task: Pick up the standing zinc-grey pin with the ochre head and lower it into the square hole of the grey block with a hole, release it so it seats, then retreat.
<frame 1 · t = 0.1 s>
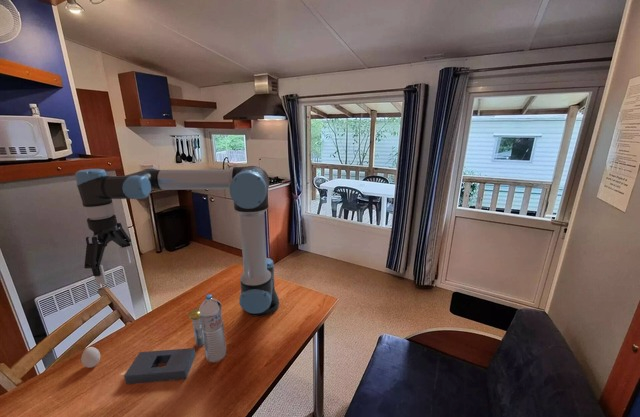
hand: (115, 272, 92), 28 cm above the table, fingers open, 13 cm apart
water bottle: (216, 355, 92), on the table
egg: (93, 366, 88), on the table
grey block with hole: (163, 369, 87), on the table
pin: (200, 343, 97), on the table
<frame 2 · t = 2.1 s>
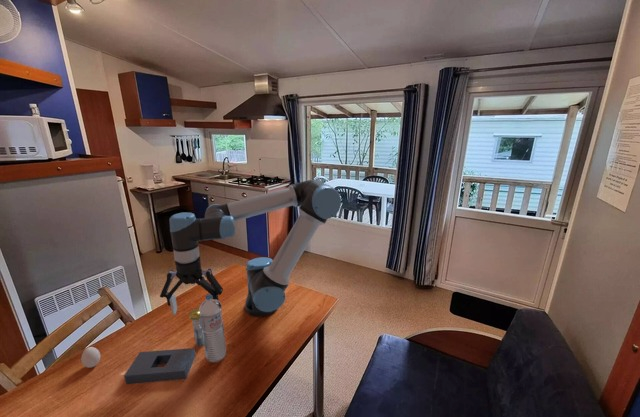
hand: (194, 311, 93), 15 cm above the table, fingers open, 13 cm apart
nothing on the table moved.
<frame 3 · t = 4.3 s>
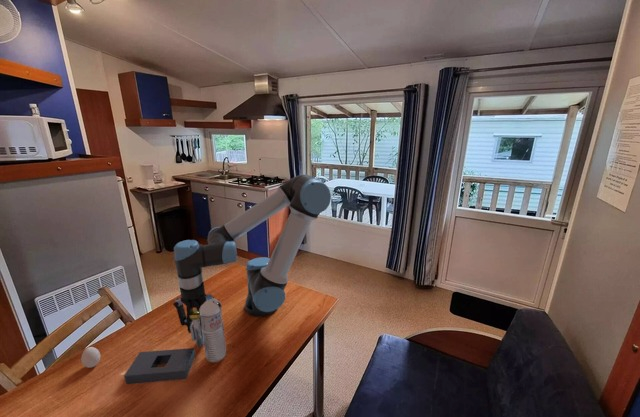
hand: (199, 338, 97), 3 cm above the table, fingers closed on pin, 3 cm apart
pin: (200, 343, 97), on the table, touching gripper
everything else where it was.
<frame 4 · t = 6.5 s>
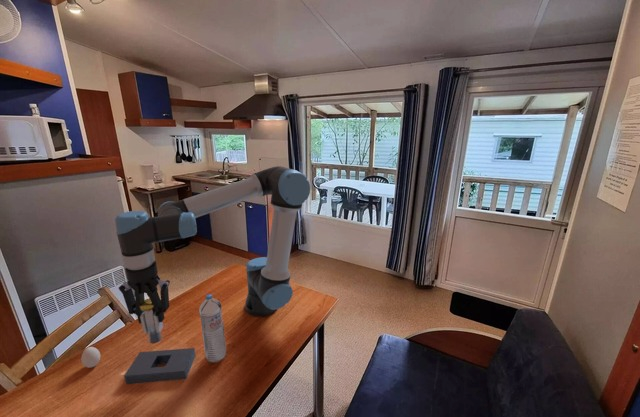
hand: (153, 329, 82), 16 cm above the table, fingers closed on pin, 3 cm apart
pin: (155, 339, 83), point 12 cm above the table, touching gripper
everything else where it was.
when the fingers open (5 cm above the table, at t = 8.6 s): pin stays where it is, resting in grey block with hole.
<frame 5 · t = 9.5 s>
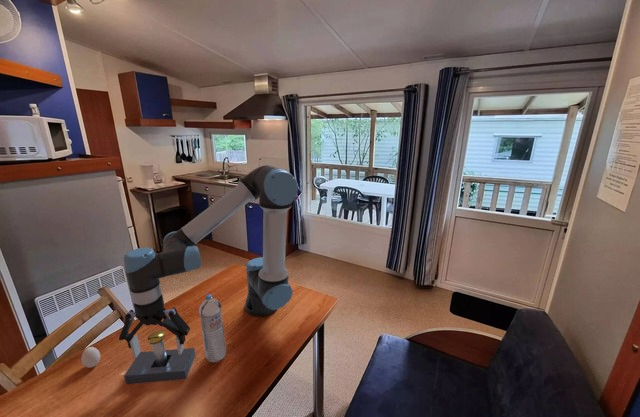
hand: (159, 352, 85), 7 cm above the table, fingers open, 13 cm apart
pin: (163, 369, 87), resting in grey block with hole
everything else where it was.
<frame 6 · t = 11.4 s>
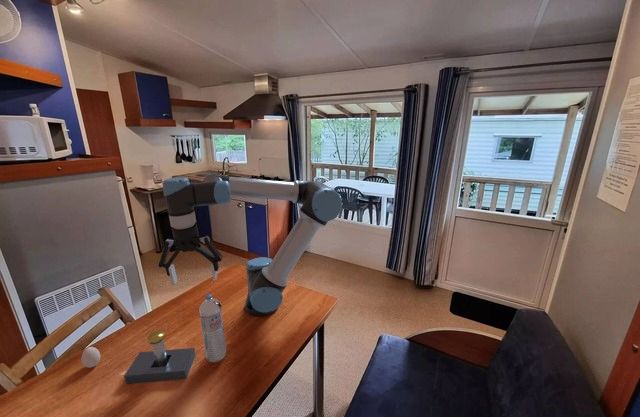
hand: (195, 280, 91), 26 cm above the table, fingers open, 13 cm apart
nothing on the table moved.
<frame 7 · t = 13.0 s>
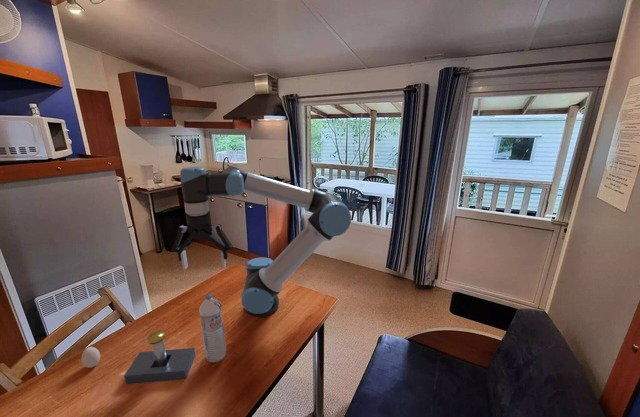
hand: (205, 267, 95), 29 cm above the table, fingers open, 13 cm apart
nothing on the table moved.
at the end: pin 0.1 cm off-centre on the grey block with hole, point 0.0 cm above the grey block with hole's base; pin tilted 0°; the gripper is holding nothing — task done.
